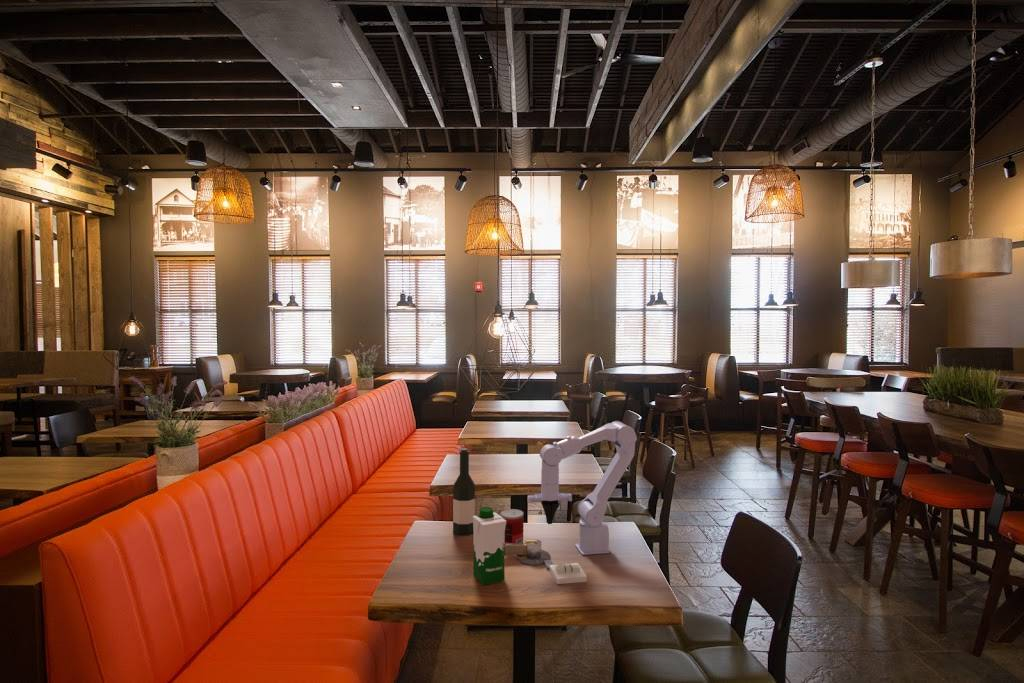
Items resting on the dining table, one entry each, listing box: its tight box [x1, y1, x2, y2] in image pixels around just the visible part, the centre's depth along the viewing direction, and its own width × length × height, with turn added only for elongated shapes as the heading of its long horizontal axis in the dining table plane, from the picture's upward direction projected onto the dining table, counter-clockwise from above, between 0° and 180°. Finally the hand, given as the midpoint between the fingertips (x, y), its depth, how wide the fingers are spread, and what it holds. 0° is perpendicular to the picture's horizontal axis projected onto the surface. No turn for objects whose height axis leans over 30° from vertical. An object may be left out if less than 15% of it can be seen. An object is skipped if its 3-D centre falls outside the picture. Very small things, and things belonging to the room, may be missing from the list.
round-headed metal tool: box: [504, 538, 542, 559], centre depth 176 cm, size 14×5×5 cm, turn 94°
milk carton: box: [472, 506, 506, 586], centre depth 162 cm, size 9×9×20 cm
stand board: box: [548, 562, 588, 585], centre depth 164 cm, size 9×9×4 cm
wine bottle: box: [452, 447, 476, 537], centre depth 197 cm, size 8×8×30 cm
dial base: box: [515, 549, 554, 571], centre depth 175 cm, size 11×14×1 cm
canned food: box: [500, 508, 524, 543], centre depth 186 cm, size 8×8×11 cm
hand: (549, 523), depth 180 cm, fingers closed
